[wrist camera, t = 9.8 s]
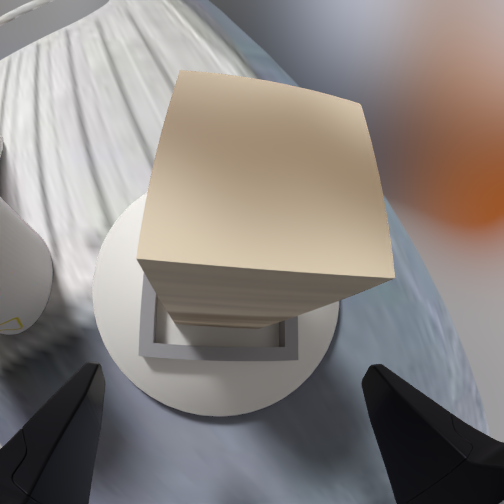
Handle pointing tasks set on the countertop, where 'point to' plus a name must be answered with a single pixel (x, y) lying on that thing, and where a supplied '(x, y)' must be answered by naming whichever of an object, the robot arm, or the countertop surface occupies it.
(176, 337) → the locating plate
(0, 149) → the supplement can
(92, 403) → the robot arm
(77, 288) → the countertop surface
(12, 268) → the cup
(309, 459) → the countertop surface
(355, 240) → the birch block
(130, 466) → the countertop surface
